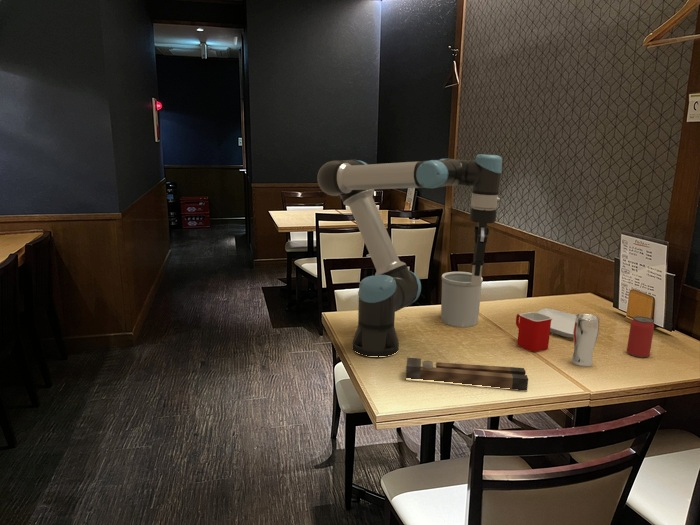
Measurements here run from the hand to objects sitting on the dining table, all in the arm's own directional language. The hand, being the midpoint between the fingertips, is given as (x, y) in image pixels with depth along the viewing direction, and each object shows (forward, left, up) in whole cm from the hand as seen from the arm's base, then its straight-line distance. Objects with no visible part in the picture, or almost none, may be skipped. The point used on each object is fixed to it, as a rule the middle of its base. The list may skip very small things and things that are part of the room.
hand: (475, 284), depth 157 cm
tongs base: (-3, -18, -23) cm, 30 cm away
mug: (+20, +14, -24) cm, 34 cm away
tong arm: (+2, -16, -23) cm, 28 cm away
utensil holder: (-2, +33, -24) cm, 41 cm away
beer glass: (+34, +2, -24) cm, 41 cm away
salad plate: (+34, +34, -24) cm, 54 cm away
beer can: (+54, +13, -24) cm, 60 cm away
